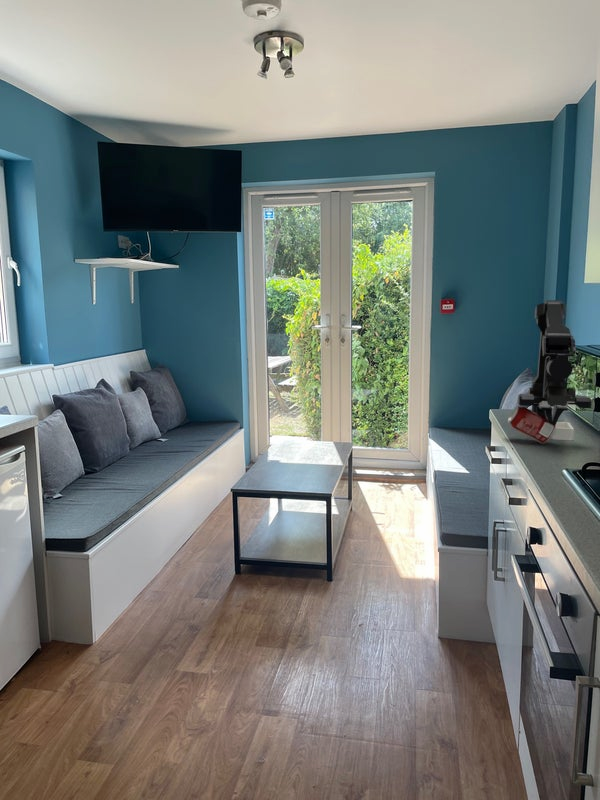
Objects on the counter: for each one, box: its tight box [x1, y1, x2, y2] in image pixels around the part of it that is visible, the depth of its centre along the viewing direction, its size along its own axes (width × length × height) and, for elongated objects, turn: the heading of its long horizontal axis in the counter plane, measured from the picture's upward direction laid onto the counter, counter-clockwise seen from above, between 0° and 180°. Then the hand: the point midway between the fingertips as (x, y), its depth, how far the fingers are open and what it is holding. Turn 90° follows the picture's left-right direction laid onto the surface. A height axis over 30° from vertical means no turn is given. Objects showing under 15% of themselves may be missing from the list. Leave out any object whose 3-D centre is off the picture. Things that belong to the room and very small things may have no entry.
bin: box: [550, 421, 575, 442], centre depth 176 cm, size 9×12×4 cm
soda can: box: [507, 405, 556, 445], centre depth 166 cm, size 7×7×12 cm
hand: (551, 430), depth 164 cm, fingers closed, pressing on soda can
